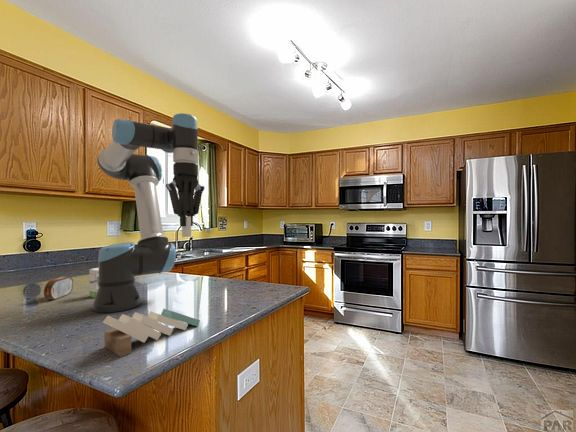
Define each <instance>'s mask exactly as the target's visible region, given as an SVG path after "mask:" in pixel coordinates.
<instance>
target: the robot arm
mask: <svg viewBox="0 0 576 432" xmlns="http://www.w3.org/2000/svg"><path fill="white" fill-rule="evenodd" d="M112 123H113V124H112V126H111V127H112V128H111V137H112V138H111V139H112V141H111V142H110V144H109V145H108V146H107V148H104V149H102V150H101V151H100V153H99V154H98V155H97V161H96V162H97V165H98V168H99V169H100V170H101V171H102V172H103V173H104V174H105V175H106V176H108V177H110V178H113V179H115V180H120V181H121V180H123V181H128V182H129V186H130V187H131V188H132V189H134V197H135V202H136V203H135V204H136V212H137V220H138V228H139V235H140V239H139V240H138V241H137V242H136V243H137V245H136V244H135V242H133V241H132V242H131V241H130V242H128V241H127V242H120V243H119V242H118V243H115V244H114V243H113V244H109V245H105V246H103V247H101V248H100V249H99V251H98V260H97V262H98V268H99V289H98V292H97V295H96V297H95V298H94V301H93V304H92V307H93V308H92V310H93V312H95V313H115V312H121V311H127V310H130V309H134V308H136V307H138V306H140V305H141V297H140V294H139V292H138V291H139V290H138V289H137V286H136V278H135V277H137V276H139V277H140V276H146V275H153V274H162V273H167V272H170V271H171V270H172V269H173V267H174V266H175V262H176V256H177V251H176V245H175V244H174V243H172V242H169V238H168V237H167V236H166V235H164V231H163V230H164V229H163V224H162V223H163V222H162V218H161V211H160V205H159V199H158V195H157V194H158V193H157V186H158V184H159V182H160V181H162V177H163V169H162V164H161V162H160V160H159V159H158V158H157V157H156V156H152V155H148V154H139V153H138V154H137V153H135V152H136V151H137V150H138V149H139V148H141V147H142V148H147V149H156V150H162V151H163V152H165V153H168V154H172V162H174V163H173V166H172V168H173V170H172V171H173V172H172V173H173V178H172V181H171V182H169V183H166V184H165V187H166V189H167V190H168V193H169V198H170V202H171V205H172V206H171V207H172V211H173V214H174V215H177V216H178V217H179V226H180V227H181V236H182V238H192V227H193V226H194V216H196V215H198V214H199V211H200V206H201V199H202V196H203V192H204V190H205V186H204V185H201V184H200V183H199V180H198V175H199V165H198V160H199V158H198V152H199V151H198V146H199V145H198V129H199V128H198V118H196V116H195V115H192V114H190V113H175V114H174V115H173V116H172V126H171V127H166V126H161V125H160V126H159V125H154V124H149V123H145V122H139V121H133V120H130V119H123V118H122V119H121V118H116V119H114V121H113V122H112Z"/></svg>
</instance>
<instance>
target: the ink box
mask: <svg viewBox="0 0 576 432" xmlns="http://www.w3.org/2000/svg"><path fill="white" fill-rule="evenodd" d="M88 273H89V283H88V284H89V297H90V298H94V299H95V297H96V295H97V292H98V289H99V267H96V268H94V267H93V268H90V269H89V272H88Z"/></svg>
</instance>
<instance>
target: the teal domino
mask: <svg viewBox="0 0 576 432" xmlns="http://www.w3.org/2000/svg"><path fill="white" fill-rule="evenodd" d="M160 315H163V316H166V317H169V318H172V319H175V320H178V321H181V322H184V323H186V324H188V325H191V326H194V327H199V325H200V322H201V320H200V319H198V318H194V317H191V316H188V315H185V314H182V313H179V312H176V311H173V310H170V309H166V308H162V310H161V313H160Z"/></svg>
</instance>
